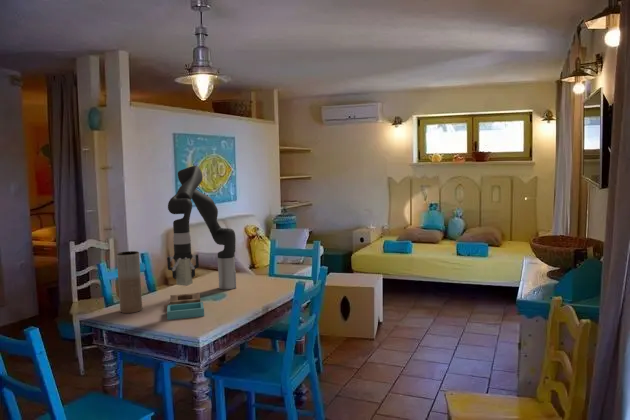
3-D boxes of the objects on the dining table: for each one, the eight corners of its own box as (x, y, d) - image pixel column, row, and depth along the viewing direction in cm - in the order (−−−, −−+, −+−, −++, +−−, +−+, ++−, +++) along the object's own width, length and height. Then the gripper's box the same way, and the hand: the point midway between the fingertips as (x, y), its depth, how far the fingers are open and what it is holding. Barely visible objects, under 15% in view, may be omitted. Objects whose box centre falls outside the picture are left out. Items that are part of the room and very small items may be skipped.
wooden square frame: (199, 300, 258) (199, 292, 258) (200, 307, 244) (200, 299, 244) (170, 303, 254) (170, 295, 254) (170, 310, 241) (169, 302, 241)
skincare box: (193, 283, 234) (191, 257, 232) (186, 286, 230) (185, 260, 228) (182, 282, 237) (180, 256, 235) (175, 284, 233) (173, 258, 231)
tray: (203, 309, 242) (202, 301, 242) (204, 316, 230) (203, 308, 230) (168, 312, 238) (167, 305, 237) (167, 319, 226) (167, 312, 226)
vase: (143, 307, 249) (140, 250, 246) (140, 312, 239) (136, 254, 237) (122, 308, 247) (119, 251, 245) (118, 314, 237) (114, 255, 235)
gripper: (198, 240, 237) (199, 275, 238) (165, 242, 233) (167, 277, 235) (198, 242, 230) (200, 278, 231) (165, 244, 226) (167, 281, 227)
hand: (184, 278), depth 233 cm, fingers closed on skincare box, 7 cm apart
